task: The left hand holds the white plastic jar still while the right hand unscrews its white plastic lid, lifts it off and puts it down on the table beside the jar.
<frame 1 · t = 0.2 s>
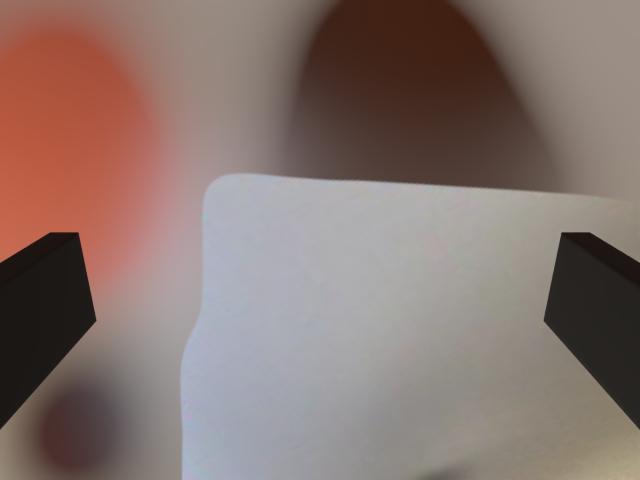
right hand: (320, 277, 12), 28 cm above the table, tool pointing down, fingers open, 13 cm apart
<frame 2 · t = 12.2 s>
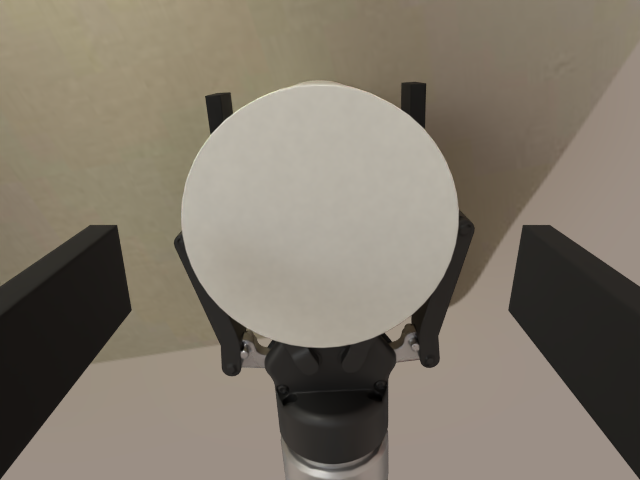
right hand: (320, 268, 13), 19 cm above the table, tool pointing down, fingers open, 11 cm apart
left hand: (315, 88, 23), fingers closed on jar, 9 cm apart
lid: (320, 227, 16), point 15 cm above the table, screwed on, not yet turned
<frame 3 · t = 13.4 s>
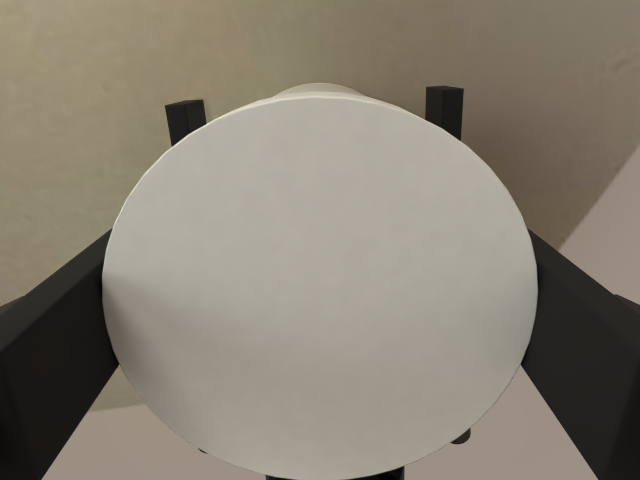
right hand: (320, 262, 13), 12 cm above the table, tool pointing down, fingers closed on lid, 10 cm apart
jar: (319, 172, 25), on the table, touching left hand
lid: (319, 314, 11), point 15 cm above the table, screwed on, not yet turned, touching right hand
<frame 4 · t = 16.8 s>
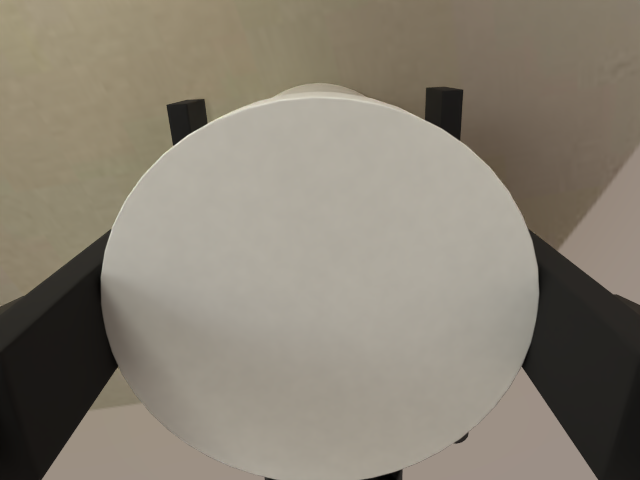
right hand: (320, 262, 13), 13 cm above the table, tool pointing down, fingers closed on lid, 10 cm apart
jar: (319, 172, 25), on the table, touching left hand
lid: (319, 315, 11), point 16 cm above the table, turned 98° so far, risen 0.2 cm, still on its thread, touching right hand
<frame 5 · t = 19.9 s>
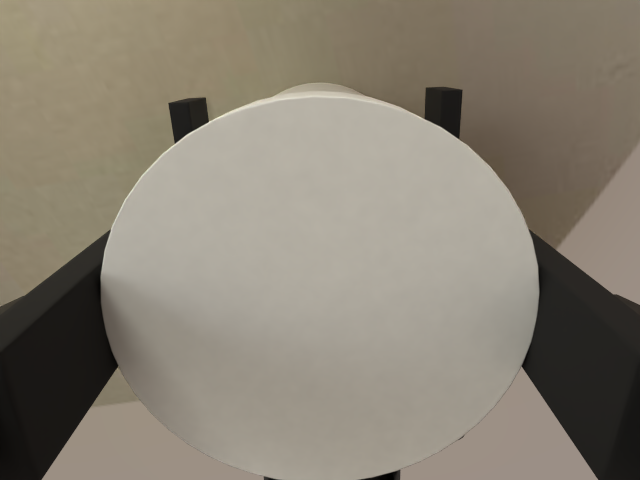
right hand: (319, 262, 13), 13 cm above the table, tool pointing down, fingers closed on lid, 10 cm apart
jar: (319, 171, 25), on the table, touching left hand
lid: (319, 315, 11), point 16 cm above the table, turned 196° so far, risen 0.3 cm, still on its thread, touching right hand
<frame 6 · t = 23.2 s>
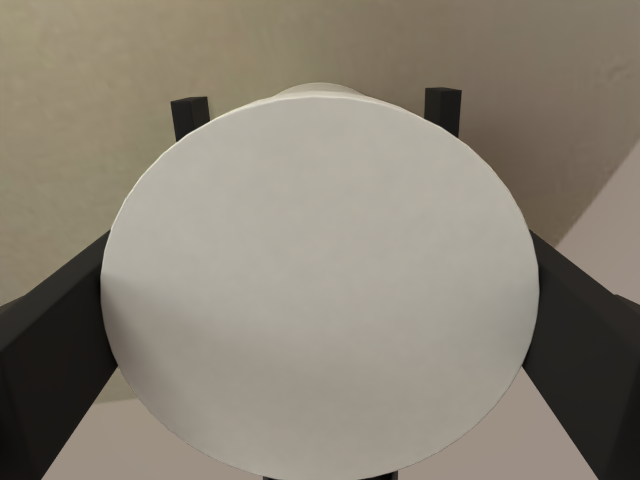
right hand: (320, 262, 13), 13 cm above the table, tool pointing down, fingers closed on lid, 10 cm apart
jar: (319, 170, 25), on the table, touching left hand
lid: (319, 315, 11), point 16 cm above the table, turned 294° so far, risen 0.5 cm, still on its thread, touching right hand
when the right hand's fingers open (0 cm above the table, at t = 29.2 s): lid drops 2 cm, point 1 cm above the table.
when the left hand's fingers open (6 cm above the table, at t = 31.0 s): jar stays where it is, on the table.
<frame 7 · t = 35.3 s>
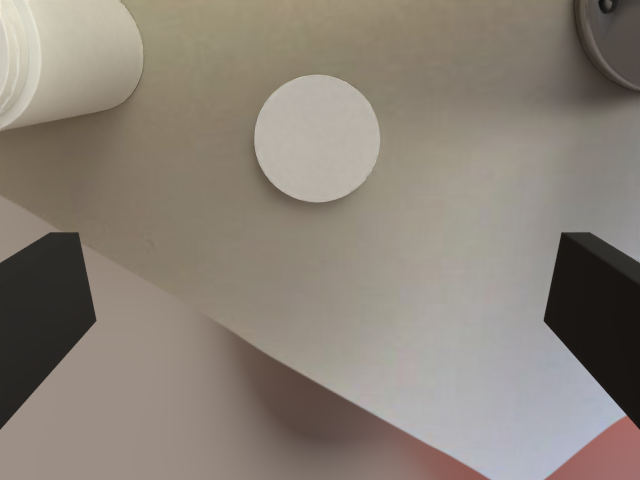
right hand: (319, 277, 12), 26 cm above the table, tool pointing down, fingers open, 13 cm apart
jar: (82, 48, 35), on the table
lid: (317, 141, 36), point 1 cm above the table, off its thread
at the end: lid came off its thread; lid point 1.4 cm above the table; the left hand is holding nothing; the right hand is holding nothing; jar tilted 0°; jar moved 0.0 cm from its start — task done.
